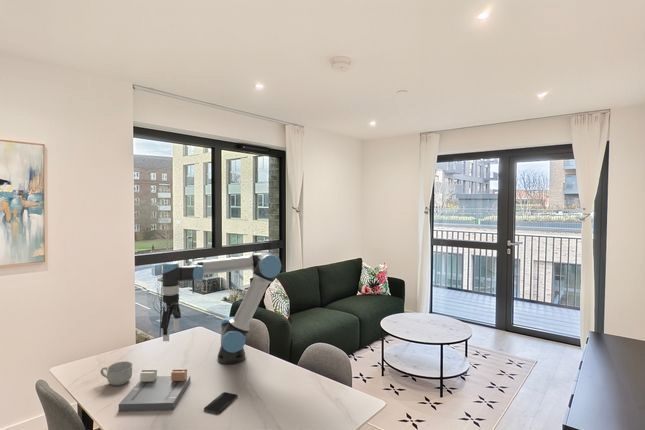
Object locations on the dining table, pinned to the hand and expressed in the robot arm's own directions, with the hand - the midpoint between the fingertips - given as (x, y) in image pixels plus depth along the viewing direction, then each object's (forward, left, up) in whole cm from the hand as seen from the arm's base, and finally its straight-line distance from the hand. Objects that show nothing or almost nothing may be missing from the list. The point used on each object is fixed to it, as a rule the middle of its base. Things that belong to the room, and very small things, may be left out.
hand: (171, 335), depth 178 cm
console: (0, +18, -20) cm, 27 cm away
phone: (-30, +26, -21) cm, 45 cm away
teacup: (+24, +5, -21) cm, 32 cm away
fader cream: (+7, +10, -17) cm, 21 cm away
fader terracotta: (-7, +10, -17) cm, 21 cm away
